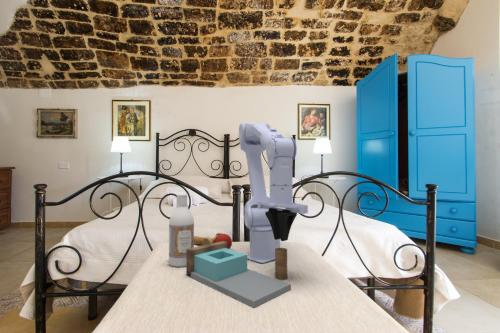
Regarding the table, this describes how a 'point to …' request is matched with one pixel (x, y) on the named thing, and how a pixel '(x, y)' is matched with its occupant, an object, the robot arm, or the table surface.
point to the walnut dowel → (281, 263)
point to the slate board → (246, 286)
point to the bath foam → (180, 232)
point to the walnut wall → (200, 250)
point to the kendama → (214, 240)
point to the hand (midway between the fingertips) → (281, 239)
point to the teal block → (220, 263)
